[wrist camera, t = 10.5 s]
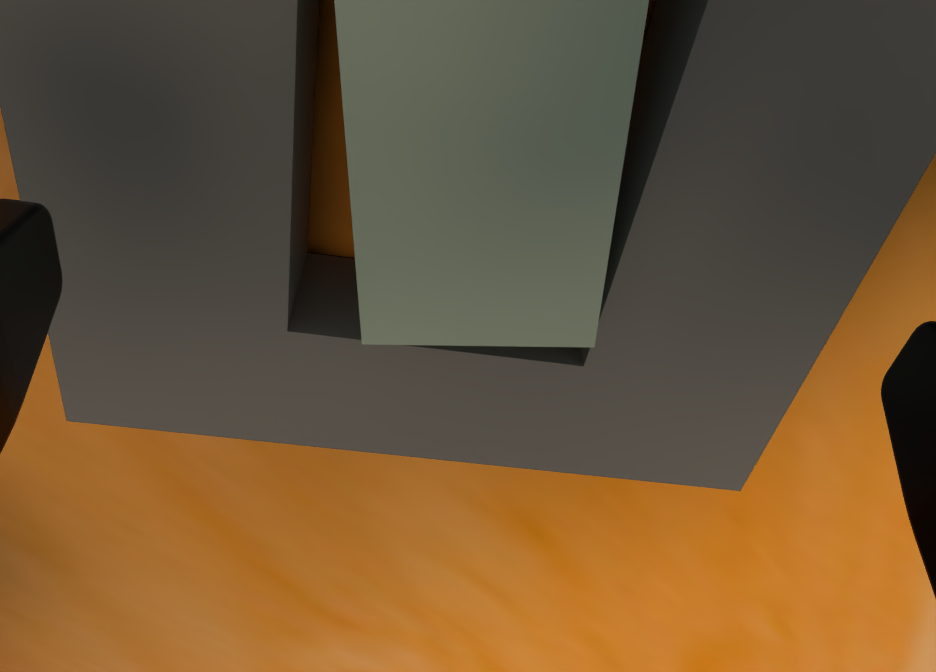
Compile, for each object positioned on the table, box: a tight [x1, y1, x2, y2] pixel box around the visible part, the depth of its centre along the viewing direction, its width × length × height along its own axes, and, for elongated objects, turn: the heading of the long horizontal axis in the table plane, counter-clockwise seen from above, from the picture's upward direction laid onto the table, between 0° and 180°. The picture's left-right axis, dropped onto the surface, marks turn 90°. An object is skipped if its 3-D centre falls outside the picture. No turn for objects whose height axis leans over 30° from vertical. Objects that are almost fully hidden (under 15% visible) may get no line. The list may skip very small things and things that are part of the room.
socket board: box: [0, 0, 936, 491], centre depth 13 cm, size 16×14×3 cm
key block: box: [334, 0, 649, 347], centre depth 13 cm, size 4×8×4 cm, turn 179°
